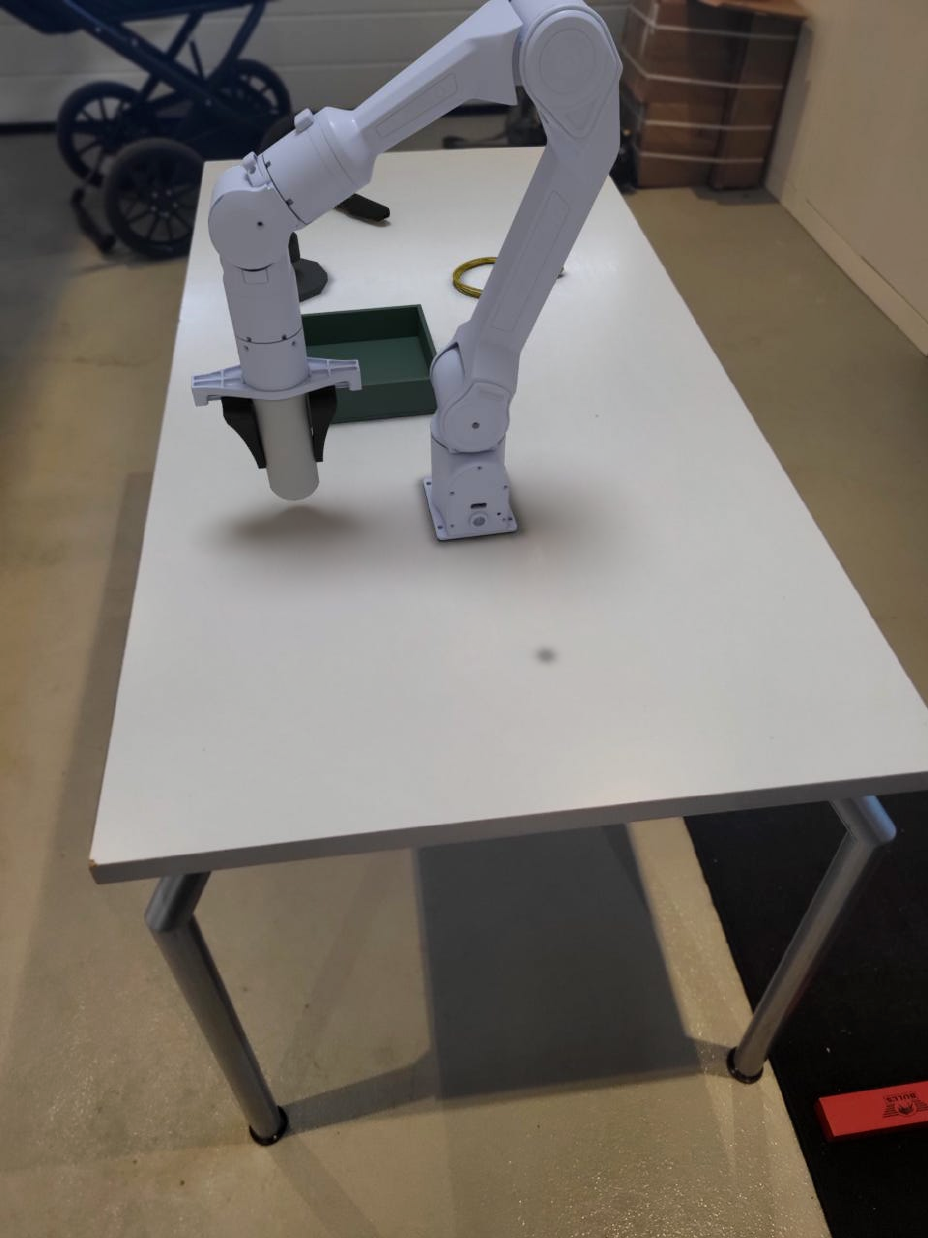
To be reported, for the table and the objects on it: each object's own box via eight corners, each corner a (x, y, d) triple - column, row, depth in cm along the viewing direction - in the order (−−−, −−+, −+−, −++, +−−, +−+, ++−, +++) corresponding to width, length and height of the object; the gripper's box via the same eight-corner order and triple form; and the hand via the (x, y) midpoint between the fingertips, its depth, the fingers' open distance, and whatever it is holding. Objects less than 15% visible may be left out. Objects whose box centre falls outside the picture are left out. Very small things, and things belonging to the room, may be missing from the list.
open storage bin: (445, 411, 101) (444, 377, 98) (294, 427, 99) (289, 392, 96) (421, 336, 113) (420, 303, 110) (286, 349, 111) (281, 315, 107)
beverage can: (311, 506, 84) (293, 397, 75) (263, 499, 85) (240, 390, 76) (326, 475, 87) (311, 367, 79) (280, 469, 88) (260, 362, 79)
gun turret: (234, 333, 113) (213, 232, 104) (237, 263, 127) (219, 168, 117) (332, 326, 115) (321, 226, 105) (325, 257, 128) (315, 163, 119)
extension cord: (569, 299, 120) (571, 285, 119) (454, 301, 119) (454, 287, 118) (558, 258, 128) (559, 245, 127) (450, 260, 128) (450, 247, 126)
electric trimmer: (378, 231, 135) (377, 210, 132) (312, 201, 142) (310, 180, 139) (396, 224, 137) (395, 203, 134) (330, 194, 144) (328, 174, 141)
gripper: (349, 296, 77) (362, 426, 87) (180, 311, 75) (213, 442, 85) (358, 336, 73) (370, 469, 83) (178, 353, 71) (212, 487, 81)
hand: (290, 459), depth 84 cm, fingers closed on beverage can, 5 cm apart
